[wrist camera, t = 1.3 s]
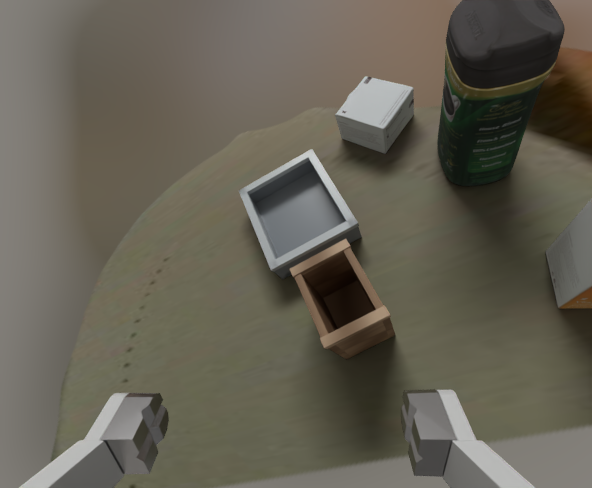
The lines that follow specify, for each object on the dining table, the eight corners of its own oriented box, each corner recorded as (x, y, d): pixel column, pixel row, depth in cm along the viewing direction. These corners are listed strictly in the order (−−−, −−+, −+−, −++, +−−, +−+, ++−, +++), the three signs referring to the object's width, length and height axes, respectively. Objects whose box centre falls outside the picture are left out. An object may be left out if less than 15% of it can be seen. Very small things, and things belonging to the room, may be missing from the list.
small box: (386, 155, 46) (382, 129, 42) (340, 139, 50) (333, 114, 46) (415, 115, 48) (415, 86, 43) (368, 102, 51) (364, 74, 47)
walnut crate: (361, 273, 40) (346, 238, 31) (396, 335, 36) (390, 314, 27) (316, 297, 41) (289, 268, 32) (346, 360, 36) (324, 348, 28)
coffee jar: (520, 181, 39) (592, 26, 23) (447, 194, 41) (467, 62, 25) (496, 120, 43) (542, -45, 27) (431, 135, 45) (439, -10, 29)
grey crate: (318, 166, 49) (311, 148, 46) (362, 237, 42) (358, 223, 39) (250, 204, 50) (238, 190, 47) (282, 280, 43) (270, 270, 40)
